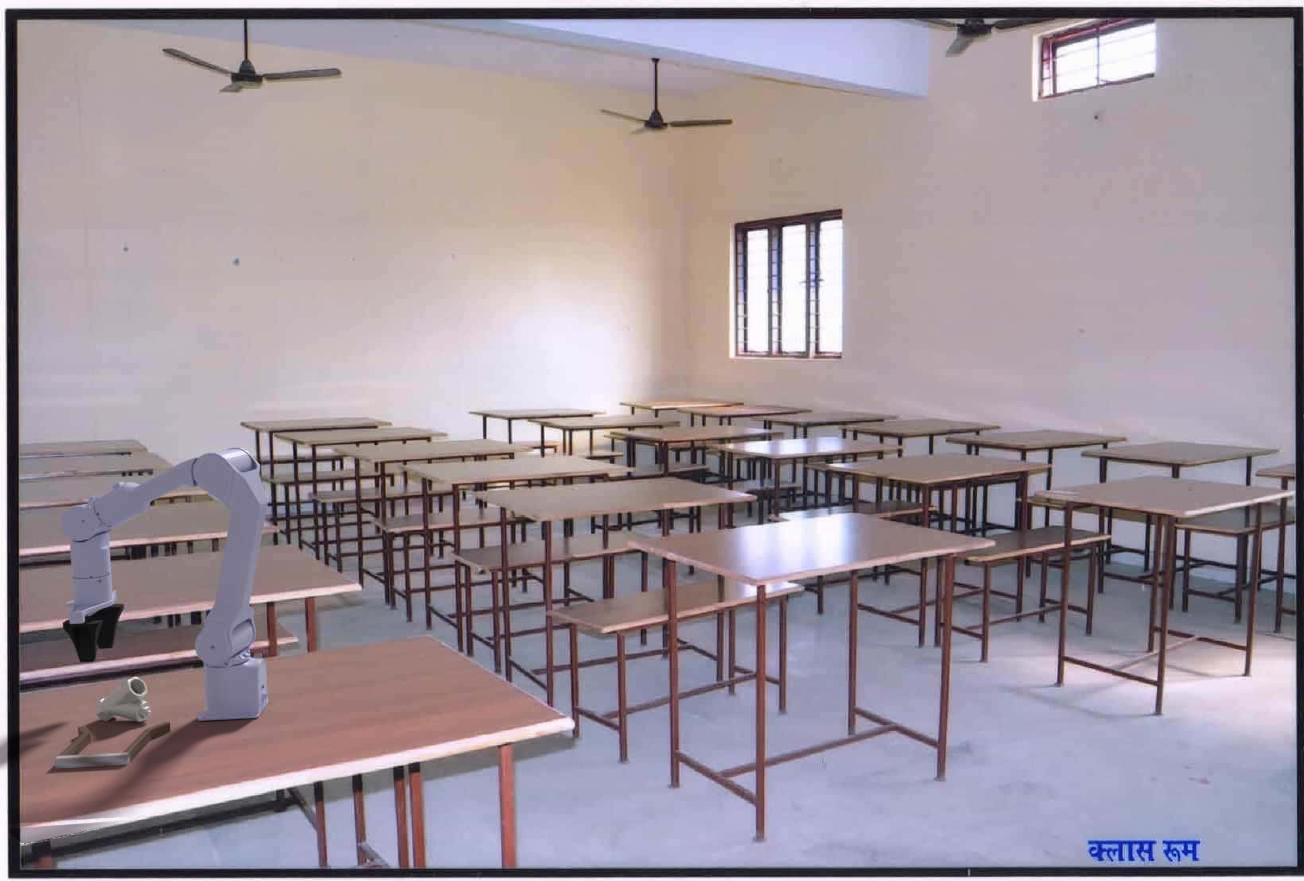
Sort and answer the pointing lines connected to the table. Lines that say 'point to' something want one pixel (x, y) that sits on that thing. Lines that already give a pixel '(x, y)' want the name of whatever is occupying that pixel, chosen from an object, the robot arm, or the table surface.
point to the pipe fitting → (125, 702)
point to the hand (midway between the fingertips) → (96, 654)
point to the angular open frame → (109, 759)
